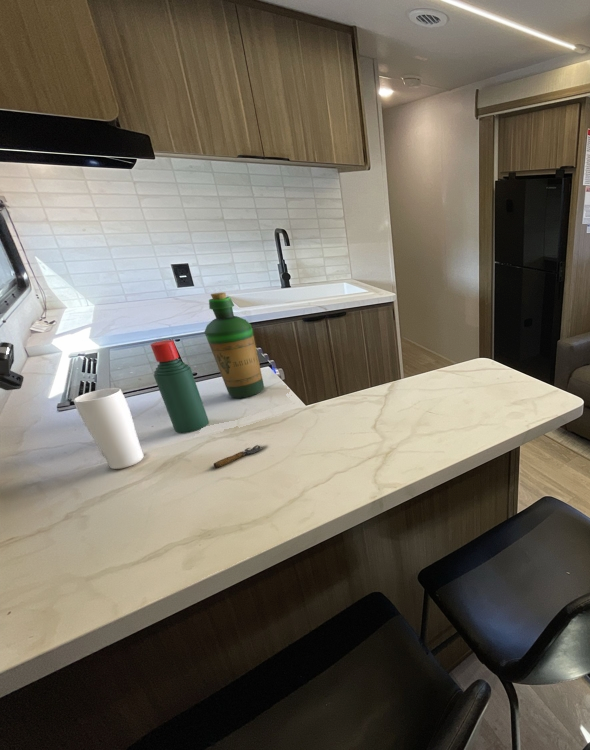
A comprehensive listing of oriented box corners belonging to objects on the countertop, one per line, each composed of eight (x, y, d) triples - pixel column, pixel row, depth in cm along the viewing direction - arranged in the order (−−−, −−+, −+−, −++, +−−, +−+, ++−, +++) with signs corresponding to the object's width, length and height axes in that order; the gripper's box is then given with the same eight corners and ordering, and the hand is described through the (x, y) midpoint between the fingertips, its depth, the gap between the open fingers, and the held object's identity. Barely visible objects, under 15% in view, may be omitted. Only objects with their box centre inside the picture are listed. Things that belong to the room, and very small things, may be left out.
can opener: (216, 469, 77) (214, 464, 76) (212, 465, 78) (210, 460, 78) (266, 449, 83) (264, 444, 83) (261, 446, 84) (260, 441, 84)
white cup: (137, 451, 85) (109, 386, 79) (156, 456, 82) (129, 389, 77) (97, 469, 79) (64, 399, 74) (117, 475, 76) (84, 403, 71)
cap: (183, 356, 90) (177, 340, 89) (165, 362, 87) (158, 345, 85) (170, 356, 91) (165, 339, 90) (152, 361, 88) (145, 344, 86)
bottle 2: (226, 404, 107) (193, 298, 97) (224, 392, 115) (193, 294, 105) (271, 393, 112) (243, 292, 102) (266, 383, 120) (240, 289, 111)
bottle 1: (169, 435, 91) (136, 351, 84) (184, 422, 97) (155, 343, 90) (201, 431, 92) (171, 348, 85) (214, 418, 98) (187, 340, 91)
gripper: (-226, 358, 42) (-46, 413, 58) (-70, 343, 45) (62, 400, 61) (-191, 299, 45) (-29, 367, 61) (-47, 289, 48) (73, 357, 63)
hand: (16, 384), depth 61 cm, fingers closed
